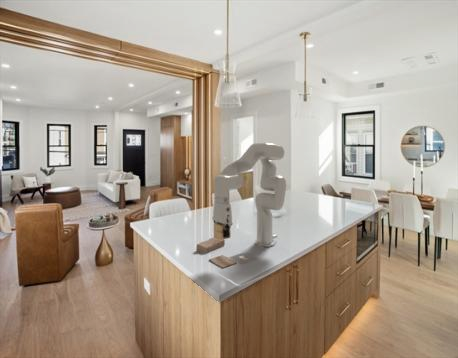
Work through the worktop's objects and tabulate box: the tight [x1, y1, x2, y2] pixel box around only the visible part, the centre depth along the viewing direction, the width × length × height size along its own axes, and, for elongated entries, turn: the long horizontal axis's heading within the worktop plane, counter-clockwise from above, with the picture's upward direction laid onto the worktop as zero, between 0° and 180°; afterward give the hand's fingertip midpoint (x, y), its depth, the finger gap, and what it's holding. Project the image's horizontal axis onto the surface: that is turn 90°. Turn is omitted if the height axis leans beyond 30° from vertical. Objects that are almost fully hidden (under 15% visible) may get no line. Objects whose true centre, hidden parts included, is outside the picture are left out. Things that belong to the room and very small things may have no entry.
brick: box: [195, 236, 226, 254], centre depth 152 cm, size 17×8×5 cm, turn 140°
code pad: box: [228, 251, 259, 265], centre depth 136 cm, size 11×11×1 cm
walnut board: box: [208, 254, 238, 269], centre depth 131 cm, size 9×12×1 cm
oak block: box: [213, 222, 231, 240], centre depth 130 cm, size 6×6×7 cm
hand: (222, 235), depth 130 cm, fingers closed on oak block, 6 cm apart
